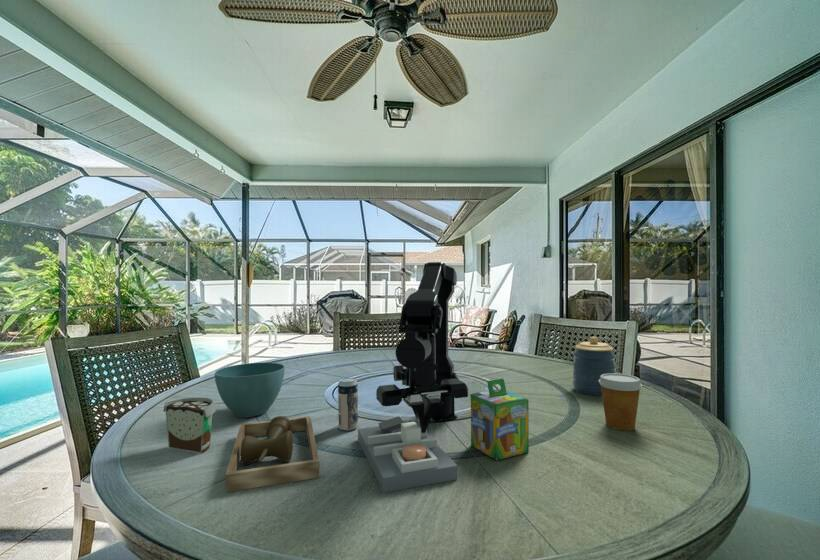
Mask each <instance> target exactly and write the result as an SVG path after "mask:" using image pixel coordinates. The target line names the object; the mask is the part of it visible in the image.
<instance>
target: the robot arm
mask: <svg viewBox="0 0 820 560" xmlns="http://www.w3.org/2000/svg"><path fill="white" fill-rule="evenodd" d="M423 265H424V266H423V270H422V278H421V279H420V282H419V285H418V289H417V290H416V291H415V292H413V293H411V294H409V296H408V297H407V298H406V300H405V302H404V303H403V305H402V309H401V314H400V319H399V326H398V333H400V334H401V333H402V334H403V333H404V334H405V338H403V339H401V340H400V341H399V342H398V344H397V346H396V347H395V359H396V360H397V362H398V363H399V365H394V366H393V369H392V370H393V380H394V382H398V381H401V385H402V386H406V387H404V388H400V387H398V386H397V385H396V384H384V385H383V384H382V385H379V386H378V387H377V388H376V395H375V396H376V400H377V401H378V403H379V404H380V405H381V406H382V407H393V406H399V405H400V404H401V402H402V401H403V402H404V403H405V404H406V405H407V406H408V407H410V408H411V410H412V411H413V413H414V416H415V419H416V422H417V424H418V425H419V427H420V428H421V433H426V430H428V428H429V426H430V424H431V421H434V422H439V421H447V420H457V419H458V415H456V414H455V399H462V398H467V397H469V388H468V385H467V384H466V383H465V382H464V381H462V380H460V379H459V378H458V375H457V372H455V364H454V363H453V362H452V359H451V358H450V356H449V301H450V299H451V298H452V297H453V295H454V293H455V286H457V282H458V277H457V271H456V270H455V269H456V268H454V267H451V266H448V265H447V264H446V263H445V262H442V261H435V262H434V261H432V262H431V261H430V262H429V261H428V262H425V263H424V264H423Z"/></svg>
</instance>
